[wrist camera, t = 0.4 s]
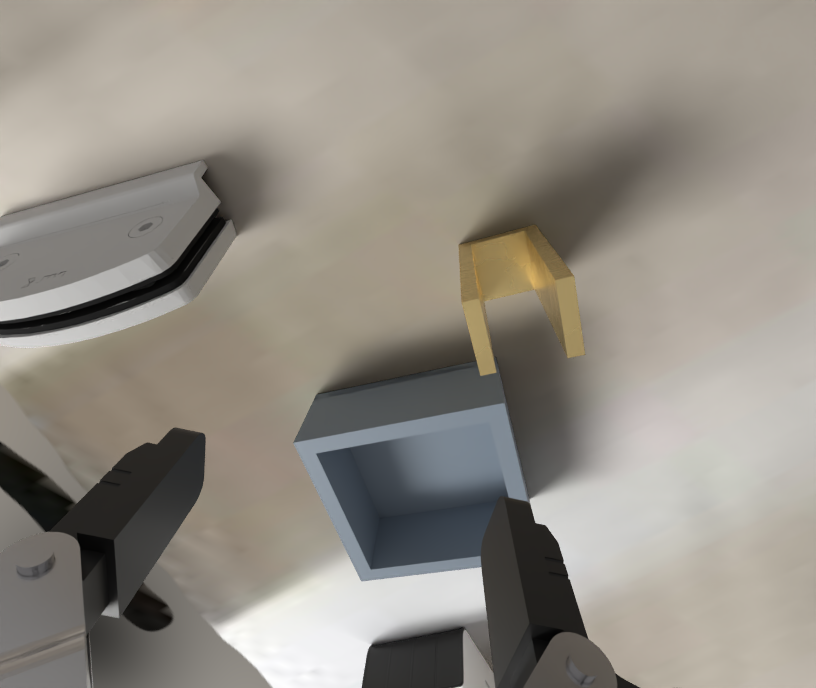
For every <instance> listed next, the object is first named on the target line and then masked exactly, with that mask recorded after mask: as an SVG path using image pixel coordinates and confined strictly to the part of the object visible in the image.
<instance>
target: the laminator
mask: <svg viewBox="0 0 816 688" xmlns="http://www.w3.org/2000/svg"><path fill="white" fill-rule="evenodd" d="M362 688H495V681H494V673H493V672H492V670H491V669H490V667H489V665H488V664H487V662H486V661H485V659H484V658H483V656H482V654H481V653H480V651H479V650H478V648H477V647H476V645H475V643H474V642H473V640H472V639H471V637H470V636H469V634H468V633H467V631H466V629H465V628H464V627H463V628H462V629H458V630H453V631H448V632H443V633H438V634H433V635H428V636H423V637H418V638H413V639H408V640H403V641H398V642H393V643H387V644H382V645H376V646H373V645H371V646H370V647H369V649H368V653H367V658H366V664H365V670H364V677H363V683H362Z"/></svg>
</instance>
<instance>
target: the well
mask: <svg viewBox="0 0 816 688" xmlns="http://www.w3.org/2000/svg"><path fill="white" fill-rule="evenodd" d="M494 361H495V367H496V372H497V373H492V374H488V375H483V376H480V372H479V368H478V364H477V361H475V362H470V363H465V364H460V365H456V366H451V367H446V368H441V369H437V370H432V371H427V372H422V373H417V374H413V375H408V376H403V377H398V378H394V379H389V380H384V381H379V382H375V383H370V384H365V385H360V386H356V387H351V388H346V389H341V390H337V391H332V392H327V393H322V394H318V395H316V397H315V399H314V401H313V403H312V405H311V407H310V409H309V411H308V413H307V415H306V418H305V420H304V422H303V424H302V426H301V428H300V430H299V432H298V434H297V436H296V438H295V440H294V445H295V447H296V449H297V451H298V453H299V455H300V457H301V459H302V462H303V464H304V466H305V468H306V470H307V472H308V474H309V476H310V478H311V480H312V482H313V484H314V486H315V488H316V490H317V492H318V494H319V496H320V498H321V500H322V502H323V504H324V506H325V508H326V510H327V512H328V514H329V516H330V519H331V521H332V523H333V525H334V527H335V529H336V531H337V533H338V535H339V537H340V539H341V541H342V543H343V545H344V547H345V549H346V551H347V553H348V555H349V557H350V559H351V561H352V563H353V565H354V567H355V569H356V571H357V573H358V576H359V578H360V580H361V581H368V580H377V579H385V578H394V577H402V576H410V575H419V574H427V573H435V572H444V571H452V570H461V569H469V568H477V567H481V546H482V540H483V537H484V534H485V531H486V529H487V526H488V523H489V521H490V518H491V516H492V513H493V511H494V508H495V505H496V503H497V500H498V499H499V497H500V496H504V497H509V498H513V499H518V500H523V501H527V502H529V503H530V500H529V496H528V492H527V487H526V483H525V479H524V475H523V470H522V466H521V462H520V458H519V453H518V449H517V445H516V441H515V436H514V432H513V428H512V423H511V419H510V415H509V411H508V406H507V402H506V398H505V394H504V389H503V385H502V381H501V377H500V372H499V368H498V364H497V359H496V357H494ZM530 506H531V505H530Z"/></svg>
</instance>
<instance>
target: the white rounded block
mask: <svg viewBox="0 0 816 688" xmlns="http://www.w3.org/2000/svg"><path fill="white" fill-rule="evenodd" d="M207 168H208V167H207V165H206V164H205V162H204V161H203V160H201V161H198V162H194V163H191V164H187V165H184V166H180V167H176V168H173V169H169V170H166V171H162V172H159V173H155V174H151V175H148V176H144V177H141V178H137V179H134V180H130V181H127V182H123V183H119V184H116V185H112V186H109V187H105V188H102V189H98V190H94V191H91V192H87V193H84V194H80V195H77V196H73V197H69V198H66V199H62V200H59V201H55V202H52V203H48V204H44V205H41V206H37V207H34V208H30V209H27V210H23V211H19V212H16V213H12V214H9V215H5V216H2V217H0V345H2V346H8V347H18V348H35V347H49V346H56V345H62V344H68V343H74V342H79V341H83V340H87V339H91V338H96V337H99V336H103V335H106V334H109V333H113V332H116V331H119V330H123V329H126V328H129V327H132V326H134V325H137V324H140V323H143V322H146V321H148V320H151V319H153V318H156V317H158V316H161V315H163V314H166V313H168V312H170V311H173V310H175V309H177V308H179V307H182V306H184V305H186V304H188V303H189V302H191V301H192V300H193V299H195V298H196V297H197V296H198V294H199V293H200V291H201V290H202V288H203V287H204V285H205V283H206V282H207V280H208V279H209V277H210V276H211V274H212V273H213V271H214V270H215V268H216V267H217V265H218V264H219V262H220V261H221V259H222V258H223V256H224V254H225V253H226V251H227V250H228V248H229V247H230V245H231V244H232V242H233V241H234V239H235V238H236V231H235V228H234V225H233V222H232V220H227V221H225V220H224V218H223V217H222V218H218V219H214V217H215V216H216V215H217V213H218V212H219V210H218V208H217V207H218V205H219V204H220V203H221V201H220V200H219V199H218V198H217V196H216V195H215V194H214V193H213V192H212V190H211V189H210V188H209V187H208V186H207V184H206V183H205V182H204V181H203V180H202V178H201V177H202V176H203V174H204V173H205V171H206V170H207ZM213 219H214V220H213Z"/></svg>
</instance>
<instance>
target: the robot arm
mask: <svg viewBox="0 0 816 688" xmlns="http://www.w3.org/2000/svg"><path fill="white" fill-rule="evenodd" d="M204 465H205V435H204V434H203V433H200V432H195V431H190V430H185V429H180V428H173V429H171V430H170V431H169V432H168V433H167V434H166V436H165V437H164V438H163V439H162V440H161V441H160V442H159V443H158V444H152V443H145V444H143V445H142V446H140V447H138V448H136V449H134V450H132V451H130V452H128V453H127V454H126V455H125V456H124V457H123V458H122V459H121V460H120V461H119V462H118V463H117V464H116V465H115V466H114V467H113V468H112V470H111V471H109V472H108V473H107V474H106V475H105V476H104V477H103V478H102V479H101V480H100V483H99V484H98V483H97V484H96V485H95V486H94V487H93V488H92V489H91V490H90V491H89V492H88V493H87V494H86V495H85V496H84V497H83V498H82V499H81V500H80V501H79V502H78V503H77V504H76V505H75V506H74V507H73V508H72V509H71V510H70V511H69V512H68V513H67V514H66V515H65V516H64V517H63V518H62V519H61V520H60V521H59V522H58V523H57V524H56V525H55V526H54V527H53V528H52V529H51V530H50V531H49V532H45V533H39V534H35V535H32V536H29V537H26V538H24V539H21V540H19V541H17V542H15V543H13V544H12V545H10V546H8V547H7V548H6V549H4V550H3V551H2V552H1V553H0V688H93V681H92V668H91V651H90V637H89V631H90V630H91V628H92V627H93V626H94V624H95V622H96V621H97V620H98V618H99V617H100V616H101V615H106V616H111V617H117V618H119V617H120V616H121V615H122V613H123V612H124V610H125V609H126V607H127V606H128V604H129V603H130V601H131V599H132V598H133V596H134V595H135V593H136V592H137V590H138V589H139V587H140V586H141V584H142V583H143V581H144V579H145V578H146V577H147V575H148V574H149V572H150V570H151V569H152V568H153V566H154V564H155V563H156V562H157V560H158V559H159V557H160V556H161V554H162V553H163V551H164V550H165V548H166V547H167V545H168V544H169V542H170V540H171V539H172V537H173V536H174V534H175V533H176V531H177V530H178V528H179V527H180V525H181V524H182V522H183V521H184V519H185V518H186V516H187V515H188V513H189V512H190V510H191V509H192V507H193V506H194V504H195V503H196V501H197V499H198V497H199V495H200V492H201V489H202V486H203V481H204ZM563 561H564V560H563V557H562V554H561V551H560V547H559V544H558V542H557V541H556V539H555V538H554V536H553V535H552V534H551V532H550V531H549V529H548V528H547V527H546V525H541V524H536V523H535V520H534V517H533V513H532V509H531V506H530V503H529V502H527V501H523V500H518V499H513V498H509V497H504V496H500V497H499V499H498V500H497V503H496V505H495V508H494V511H493V513H492V516H491V518H490V521H489V523H488V526H487V529H486V531H485V534H484V537H483V540H482V546H481V567H482V576H483V585H484V593H485V602H486V611H487V620H488V628H489V637H490V646H491V654H492V663H493V672H494V681H495V688H639V687H638V686H636V685H634V684H632V683H630V682H628V681H626V680H624V679H623V678H621V677H620V676H618V675H617V674H616V673H615V671H614V669H613V667H612V665H611V663H610V661H609V660H608V658H607V657H606V655H605V654H604V653H603V652H602V651H601V650H600V648H599V647H597V646H596V645H595V644H594V643H593V642H591V641H590V640H589V639H588V637H587V634H586V630H585V627H584V624H583V621H582V618H581V614H580V611H579V608H578V605H577V602H576V598H575V595H574V592H573V589H572V586H571V582H570V579H568V573H567V570H566V567H565V564H563Z"/></svg>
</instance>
